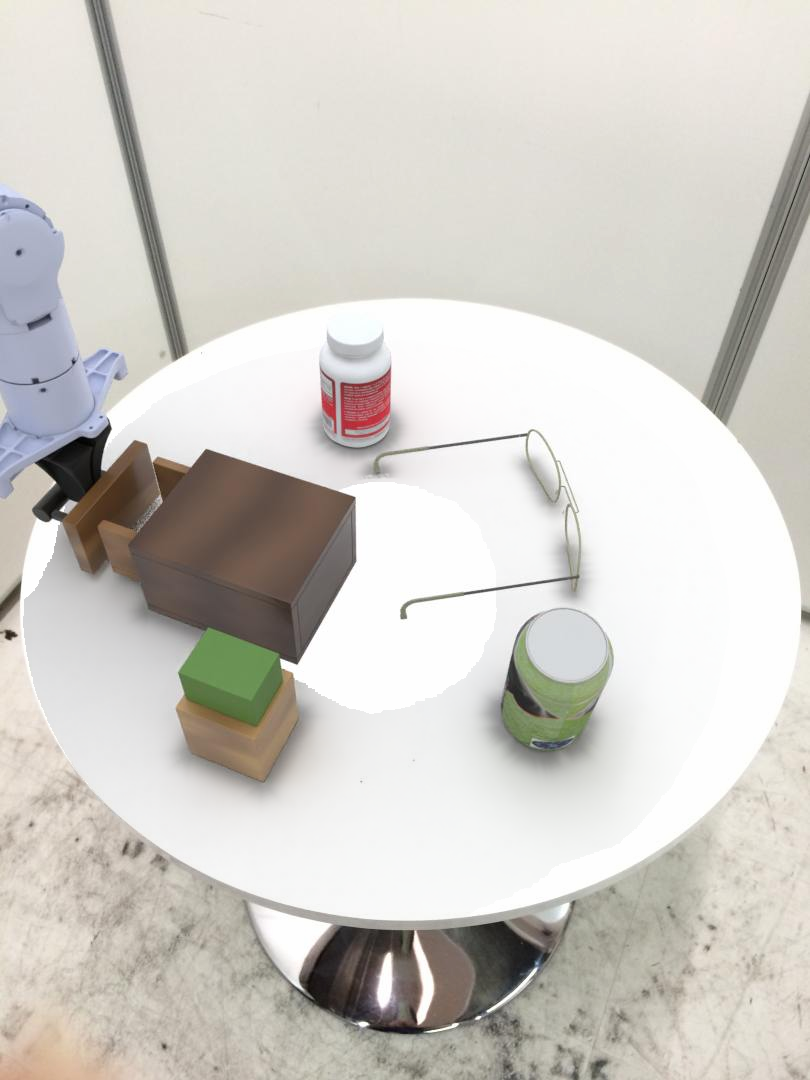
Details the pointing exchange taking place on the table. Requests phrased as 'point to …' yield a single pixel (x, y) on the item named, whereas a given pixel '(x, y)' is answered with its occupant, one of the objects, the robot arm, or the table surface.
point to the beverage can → (555, 677)
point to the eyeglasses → (377, 469)
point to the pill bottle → (355, 380)
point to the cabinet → (247, 553)
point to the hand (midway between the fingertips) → (84, 497)
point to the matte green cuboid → (231, 676)
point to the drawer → (112, 508)
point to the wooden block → (241, 732)
